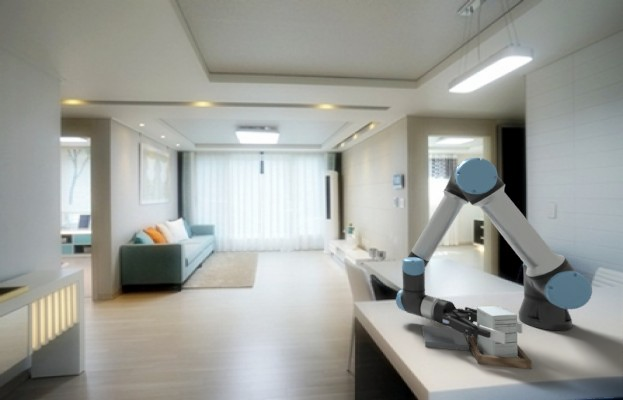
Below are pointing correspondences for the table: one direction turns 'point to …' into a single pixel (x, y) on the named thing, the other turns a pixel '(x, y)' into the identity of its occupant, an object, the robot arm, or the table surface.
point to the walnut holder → (498, 360)
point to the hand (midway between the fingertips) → (513, 333)
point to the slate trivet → (444, 338)
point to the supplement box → (501, 322)
